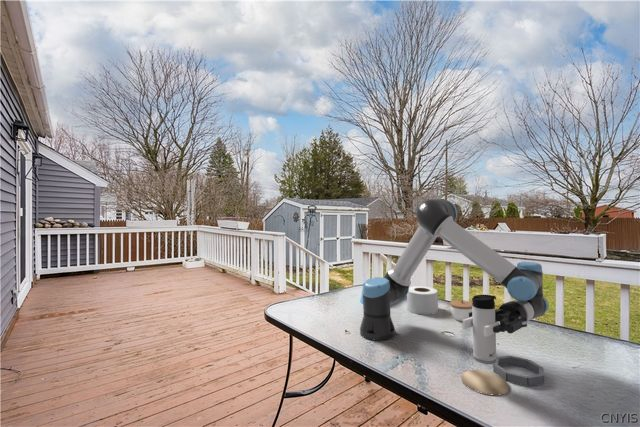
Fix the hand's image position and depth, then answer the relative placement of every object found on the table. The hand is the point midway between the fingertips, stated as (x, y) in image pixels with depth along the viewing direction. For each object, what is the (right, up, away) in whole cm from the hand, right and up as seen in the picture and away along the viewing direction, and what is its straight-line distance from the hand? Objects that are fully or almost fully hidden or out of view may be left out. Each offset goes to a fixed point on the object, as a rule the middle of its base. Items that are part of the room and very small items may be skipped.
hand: (474, 328), depth 94 cm
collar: (+18, -18, +8) cm, 26 cm away
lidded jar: (+22, -17, +56) cm, 63 cm away
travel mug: (+5, -11, +3) cm, 12 cm away
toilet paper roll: (+8, -17, +72) cm, 74 cm away
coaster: (+5, -18, +3) cm, 19 cm away
